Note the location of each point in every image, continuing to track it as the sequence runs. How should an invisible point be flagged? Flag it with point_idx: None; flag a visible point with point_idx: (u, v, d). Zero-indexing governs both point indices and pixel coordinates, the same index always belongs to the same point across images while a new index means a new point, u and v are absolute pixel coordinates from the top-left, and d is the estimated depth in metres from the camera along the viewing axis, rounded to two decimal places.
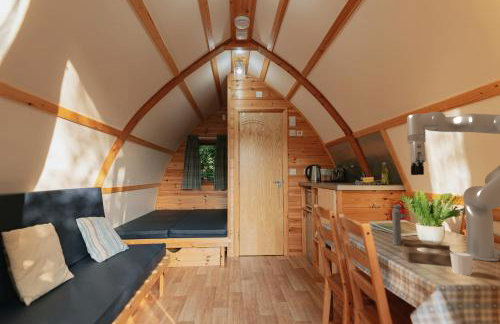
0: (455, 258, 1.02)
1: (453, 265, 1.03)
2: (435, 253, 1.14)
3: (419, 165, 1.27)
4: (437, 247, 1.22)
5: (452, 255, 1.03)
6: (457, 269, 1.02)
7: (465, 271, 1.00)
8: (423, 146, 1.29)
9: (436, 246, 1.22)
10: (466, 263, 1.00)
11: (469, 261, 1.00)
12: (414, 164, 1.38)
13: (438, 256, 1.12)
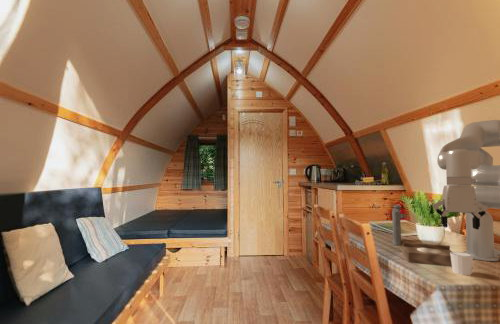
0: (455, 258, 1.02)
1: (453, 265, 1.03)
2: (435, 253, 1.14)
3: None
4: (437, 247, 1.22)
5: (452, 255, 1.03)
6: (457, 269, 1.02)
7: (465, 271, 1.00)
8: None
9: (436, 246, 1.22)
10: (466, 263, 1.00)
11: (469, 261, 1.00)
12: None
13: (438, 256, 1.12)
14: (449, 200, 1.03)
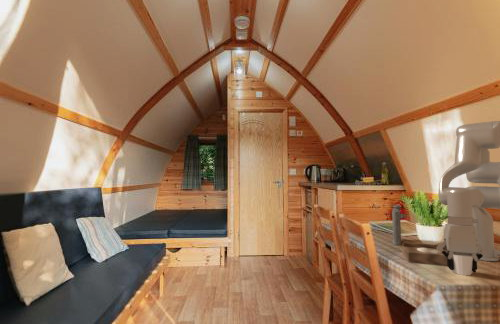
0: (455, 258, 1.02)
1: None
2: (435, 253, 1.14)
3: None
4: None
5: None
6: (457, 269, 1.02)
7: (465, 271, 1.00)
8: None
9: (436, 246, 1.22)
10: (466, 263, 1.00)
11: (469, 260, 1.00)
12: None
13: (438, 256, 1.12)
14: (451, 241, 1.03)
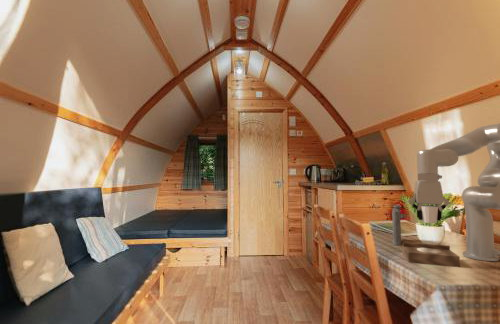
0: (423, 209, 1.18)
1: None
2: (435, 253, 1.14)
3: None
4: (437, 247, 1.22)
5: (421, 207, 1.19)
6: (425, 218, 1.18)
7: (431, 219, 1.16)
8: None
9: (436, 246, 1.22)
10: (432, 212, 1.16)
11: (434, 210, 1.16)
12: None
13: (438, 256, 1.12)
14: (419, 194, 1.19)
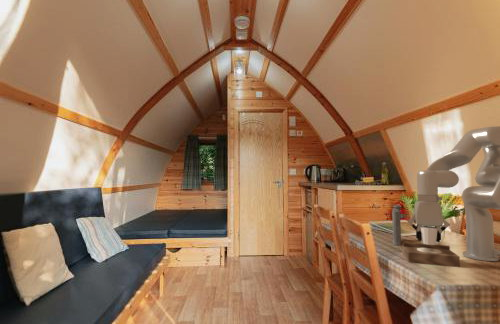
0: (422, 230, 1.18)
1: (421, 236, 1.19)
2: (435, 253, 1.14)
3: None
4: (437, 247, 1.22)
5: None
6: (424, 239, 1.17)
7: (431, 241, 1.16)
8: None
9: (436, 246, 1.22)
10: (431, 234, 1.16)
11: (434, 232, 1.16)
12: None
13: (438, 256, 1.12)
14: (419, 215, 1.18)
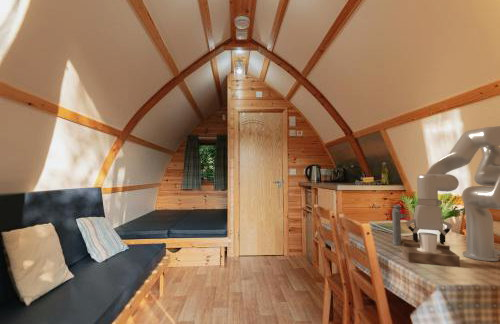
0: (422, 237, 1.18)
1: (421, 243, 1.19)
2: (435, 253, 1.14)
3: None
4: (437, 247, 1.22)
5: (420, 235, 1.19)
6: (424, 247, 1.17)
7: (431, 248, 1.16)
8: None
9: (436, 246, 1.22)
10: (431, 241, 1.16)
11: (433, 239, 1.16)
12: None
13: (438, 256, 1.12)
14: (419, 219, 1.18)
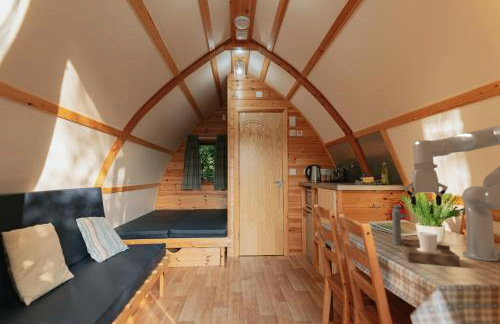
0: (422, 237, 1.18)
1: (421, 243, 1.19)
2: (435, 253, 1.14)
3: None
4: (437, 247, 1.22)
5: (420, 235, 1.19)
6: (424, 247, 1.17)
7: (431, 248, 1.16)
8: None
9: (436, 246, 1.22)
10: (431, 241, 1.16)
11: (433, 239, 1.16)
12: None
13: (438, 256, 1.12)
14: (417, 183, 1.25)
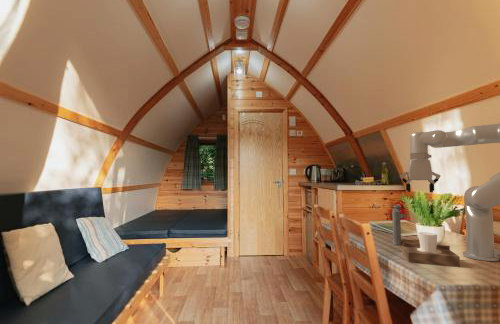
0: (422, 237, 1.18)
1: (421, 243, 1.19)
2: (435, 253, 1.14)
3: (434, 183, 1.34)
4: (437, 247, 1.22)
5: (420, 235, 1.19)
6: (424, 247, 1.17)
7: (431, 248, 1.16)
8: None
9: (436, 246, 1.22)
10: (431, 241, 1.16)
11: (433, 239, 1.16)
12: (407, 181, 1.38)
13: (438, 256, 1.12)
14: (411, 171, 1.35)
